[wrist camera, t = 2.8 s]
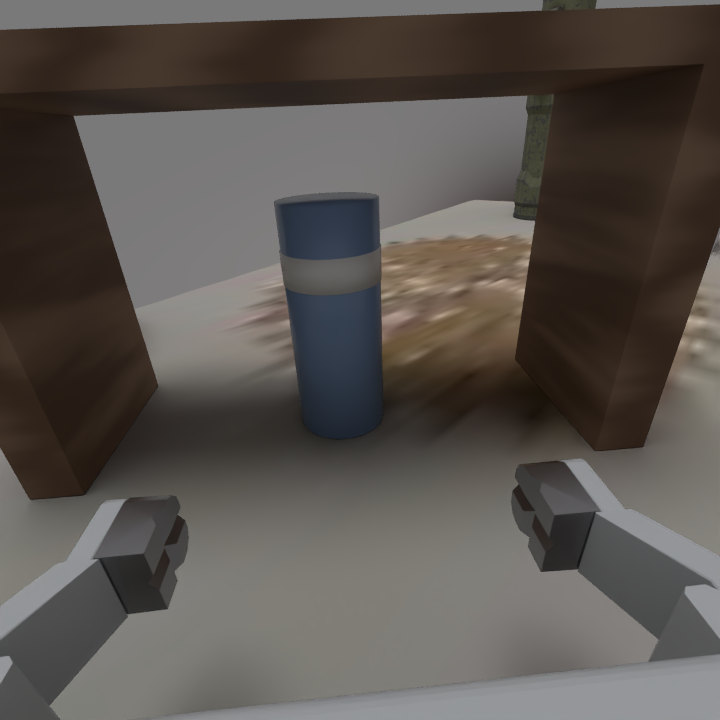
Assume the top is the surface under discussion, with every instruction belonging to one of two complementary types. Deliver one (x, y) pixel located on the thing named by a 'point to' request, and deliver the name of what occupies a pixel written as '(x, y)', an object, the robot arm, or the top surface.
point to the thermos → (538, 133)
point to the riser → (364, 85)
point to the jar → (334, 308)
